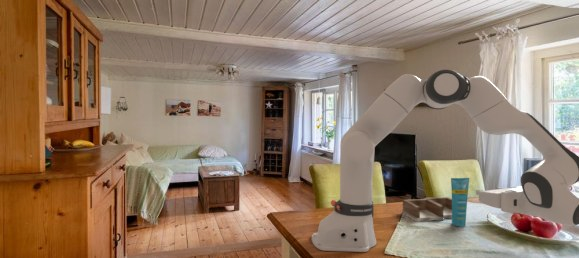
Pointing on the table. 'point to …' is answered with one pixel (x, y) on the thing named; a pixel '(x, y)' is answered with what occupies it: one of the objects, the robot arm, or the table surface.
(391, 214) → the table surface
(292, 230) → the table surface
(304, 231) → the table surface
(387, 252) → the table surface
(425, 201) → the brown wooden open box
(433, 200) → the endcap
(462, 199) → the tube
